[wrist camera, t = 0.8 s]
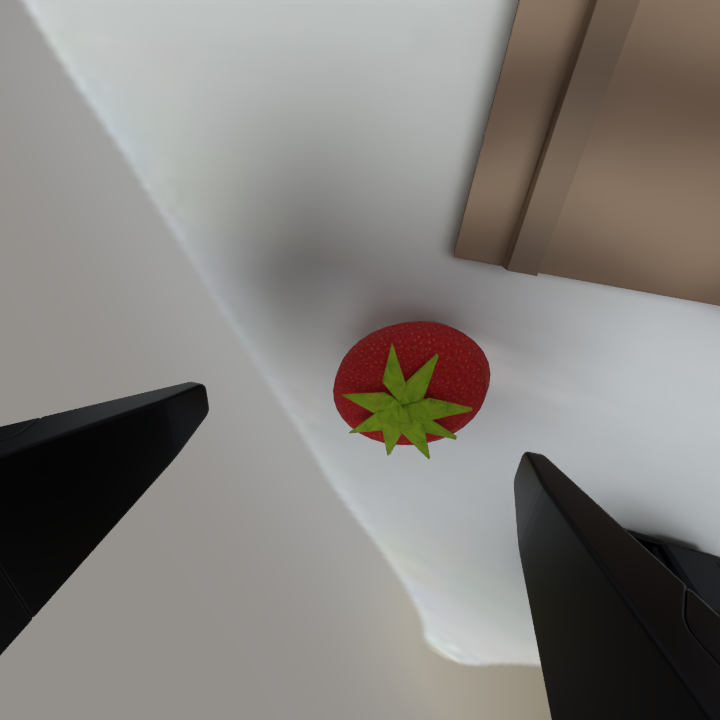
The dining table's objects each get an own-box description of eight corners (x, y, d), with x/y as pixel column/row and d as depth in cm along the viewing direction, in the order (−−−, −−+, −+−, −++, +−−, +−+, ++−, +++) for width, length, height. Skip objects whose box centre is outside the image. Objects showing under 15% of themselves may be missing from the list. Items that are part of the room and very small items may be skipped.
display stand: (806, 316, 15) (917, 345, 11) (453, 252, 18) (452, 260, 14) (1099, -66, 10) (1472, -233, 6) (536, -65, 13) (566, -177, 9)
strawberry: (348, 321, 21) (268, 394, 12) (465, 279, 18) (473, 334, 9) (381, 399, 23) (332, 514, 14) (494, 372, 20) (524, 495, 11)
